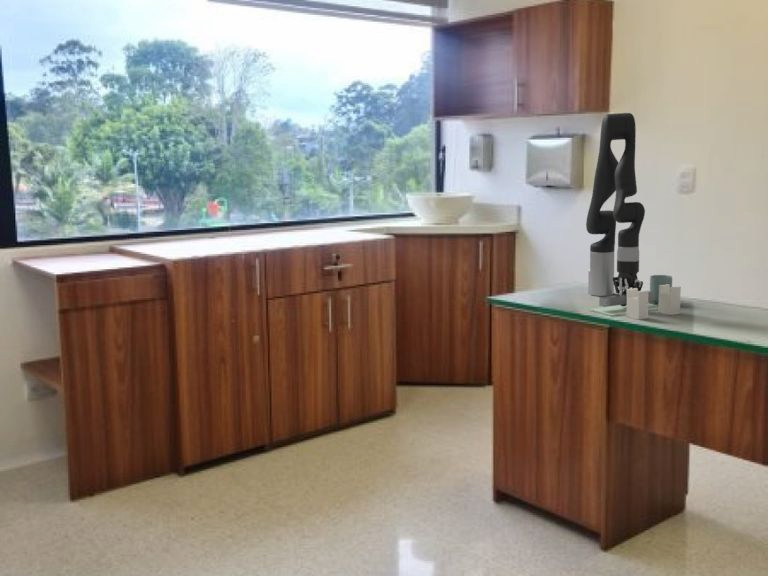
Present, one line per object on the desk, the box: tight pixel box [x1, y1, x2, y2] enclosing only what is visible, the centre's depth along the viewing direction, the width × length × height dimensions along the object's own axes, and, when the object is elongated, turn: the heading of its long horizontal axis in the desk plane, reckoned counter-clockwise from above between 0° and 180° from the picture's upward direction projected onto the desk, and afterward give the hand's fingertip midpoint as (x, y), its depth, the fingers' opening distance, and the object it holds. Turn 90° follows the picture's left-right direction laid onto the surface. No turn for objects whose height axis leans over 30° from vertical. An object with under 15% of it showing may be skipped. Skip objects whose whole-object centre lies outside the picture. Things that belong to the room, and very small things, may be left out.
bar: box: [598, 290, 654, 307], centre depth 274 cm, size 3×22×3 cm, turn 113°
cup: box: [649, 274, 673, 305], centre depth 284 cm, size 8×8×10 cm
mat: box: [588, 303, 658, 317], centre depth 275 cm, size 12×24×1 cm, turn 113°
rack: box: [625, 284, 682, 320], centre depth 264 cm, size 6×18×10 cm, turn 113°
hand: (627, 306), depth 275 cm, fingers closed on bar, 3 cm apart
